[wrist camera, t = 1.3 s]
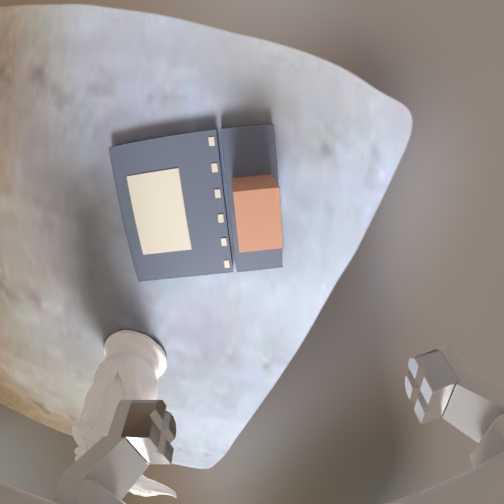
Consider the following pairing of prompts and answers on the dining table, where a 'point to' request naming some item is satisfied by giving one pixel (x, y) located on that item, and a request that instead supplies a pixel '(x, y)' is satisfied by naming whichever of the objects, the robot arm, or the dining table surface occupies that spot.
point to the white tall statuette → (121, 393)
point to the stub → (253, 196)
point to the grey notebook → (173, 205)
